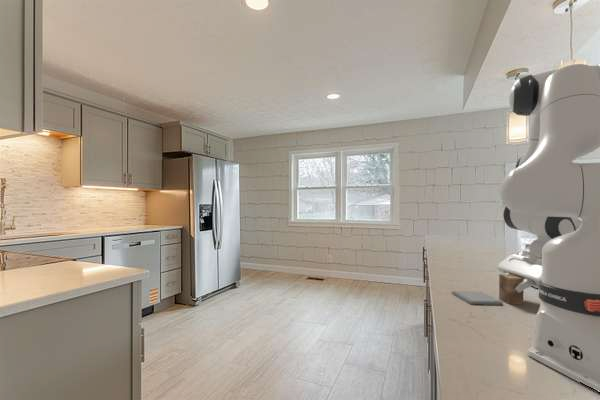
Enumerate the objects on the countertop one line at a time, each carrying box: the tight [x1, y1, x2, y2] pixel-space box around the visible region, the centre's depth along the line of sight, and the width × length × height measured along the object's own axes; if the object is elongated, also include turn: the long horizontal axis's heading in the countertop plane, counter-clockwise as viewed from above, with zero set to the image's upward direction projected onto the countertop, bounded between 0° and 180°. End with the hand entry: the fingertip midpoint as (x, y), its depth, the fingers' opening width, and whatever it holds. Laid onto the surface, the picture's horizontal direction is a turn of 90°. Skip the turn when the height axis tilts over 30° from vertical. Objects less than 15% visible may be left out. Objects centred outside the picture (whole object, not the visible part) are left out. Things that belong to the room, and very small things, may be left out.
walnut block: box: [498, 273, 524, 305], centre depth 94 cm, size 5×5×8 cm
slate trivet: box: [451, 290, 504, 306], centre depth 96 cm, size 11×10×1 cm
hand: (509, 287), depth 94 cm, fingers closed on walnut block, 4 cm apart
